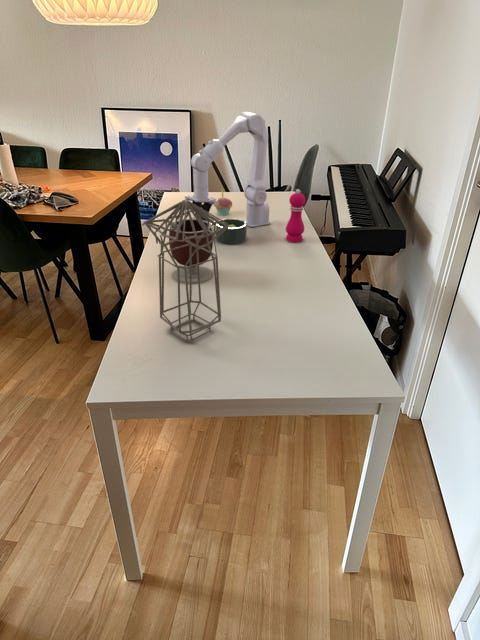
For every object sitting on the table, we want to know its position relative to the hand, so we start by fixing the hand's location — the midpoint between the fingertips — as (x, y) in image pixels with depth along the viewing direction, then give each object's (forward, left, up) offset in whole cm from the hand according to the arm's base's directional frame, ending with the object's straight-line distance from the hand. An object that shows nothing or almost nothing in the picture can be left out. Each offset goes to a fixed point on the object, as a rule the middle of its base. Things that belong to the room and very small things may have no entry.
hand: (202, 220), depth 183 cm
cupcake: (-18, -16, -5) cm, 24 cm away
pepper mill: (-28, +26, -5) cm, 38 cm away
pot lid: (0, 0, -1) cm, 1 cm away
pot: (-6, +14, -5) cm, 16 cm away
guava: (-6, +14, -3) cm, 15 cm away
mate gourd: (+22, +37, -5) cm, 43 cm away
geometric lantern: (+36, +69, -5) cm, 78 cm away
